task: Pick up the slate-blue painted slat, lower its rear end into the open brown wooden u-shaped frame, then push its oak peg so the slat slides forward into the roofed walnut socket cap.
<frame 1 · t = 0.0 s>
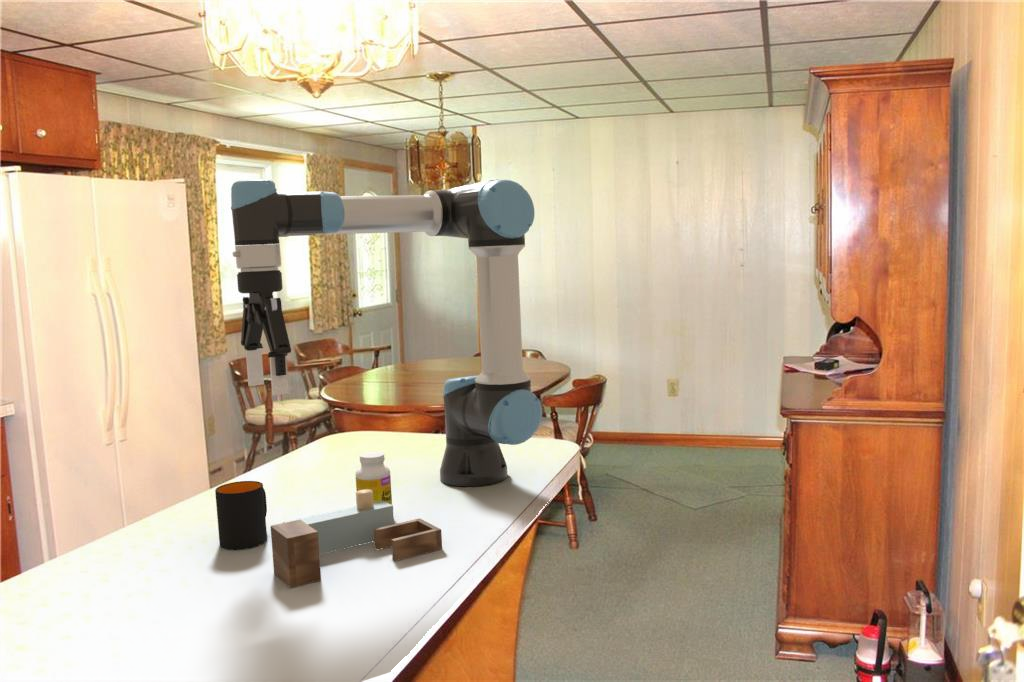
hand: (268, 389, 155), 28 cm above the kitchen island, fingers open, 13 cm apart
slat: (341, 546, 155), on the kitchen island
mug: (249, 540, 161), on the kitchen island
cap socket: (297, 576, 141), on the kitchen island
supplement bottle: (375, 520, 169), on the kitchen island
brown wooden u-shaped frame: (408, 548, 152), on the kitchen island
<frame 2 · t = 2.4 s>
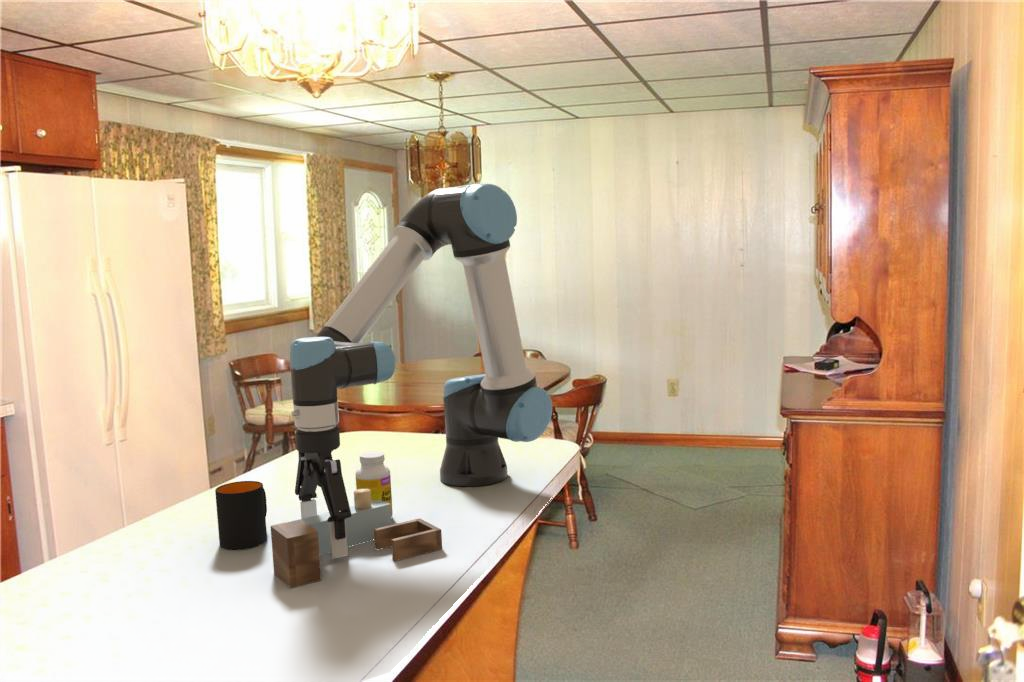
hand: (324, 545, 154), 1 cm above the kitchen island, fingers open, 13 cm apart
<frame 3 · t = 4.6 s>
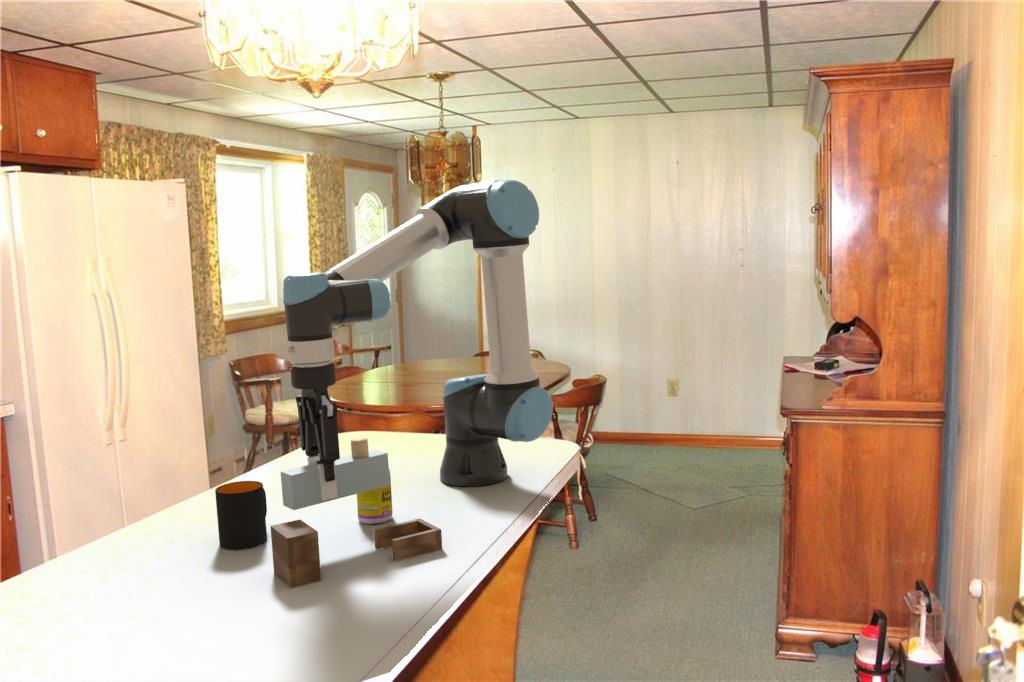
hand: (323, 494, 153), 10 cm above the kitchen island, fingers closed on slat, 4 cm apart
slat: (338, 495, 155), point 9 cm above the kitchen island, touching gripper
everything else where it was.
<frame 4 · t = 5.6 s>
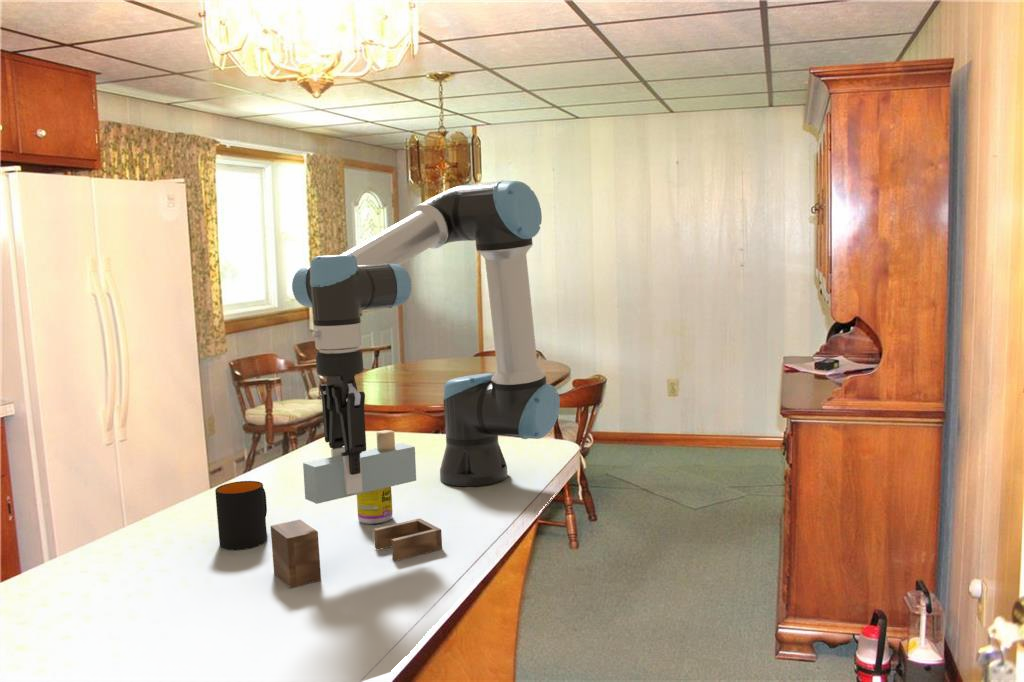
hand: (347, 489, 145), 13 cm above the kitchen island, fingers closed on slat, 4 cm apart
slat: (362, 489, 147), point 12 cm above the kitchen island, touching gripper
everything else where it was.
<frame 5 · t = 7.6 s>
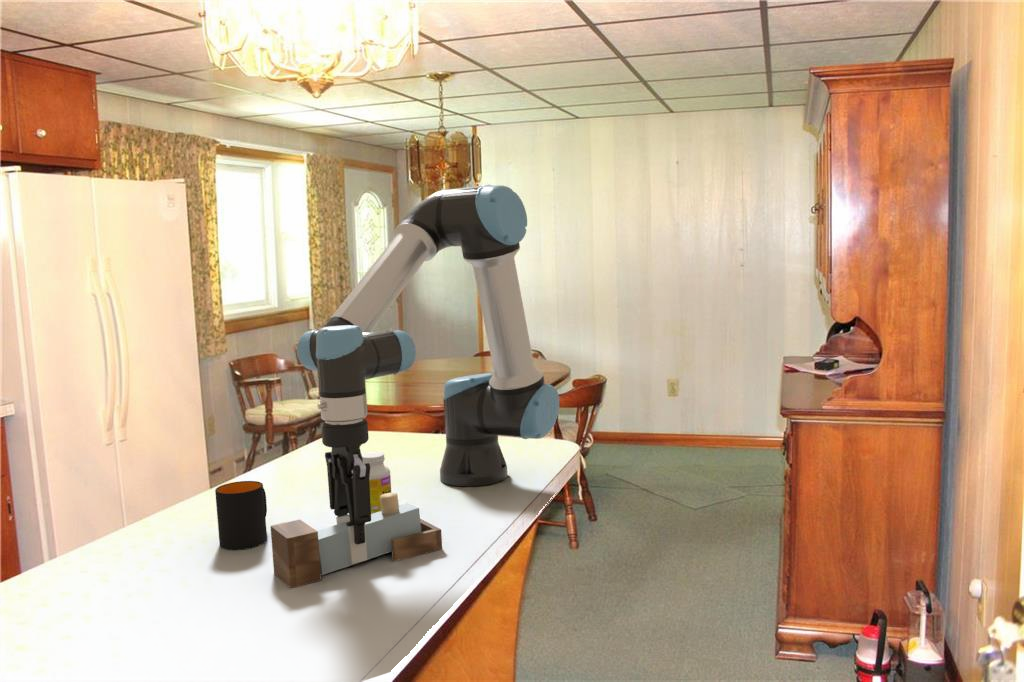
hand: (352, 556, 146), 1 cm above the kitchen island, fingers closed on slat, 4 cm apart
slat: (368, 554, 148), point 1 cm above the kitchen island, touching gripper
everything else where it was.
when the fingers open (0 cm above the kitchen island, at t = 7.9 s): slat stays where it is, on the kitchen island.
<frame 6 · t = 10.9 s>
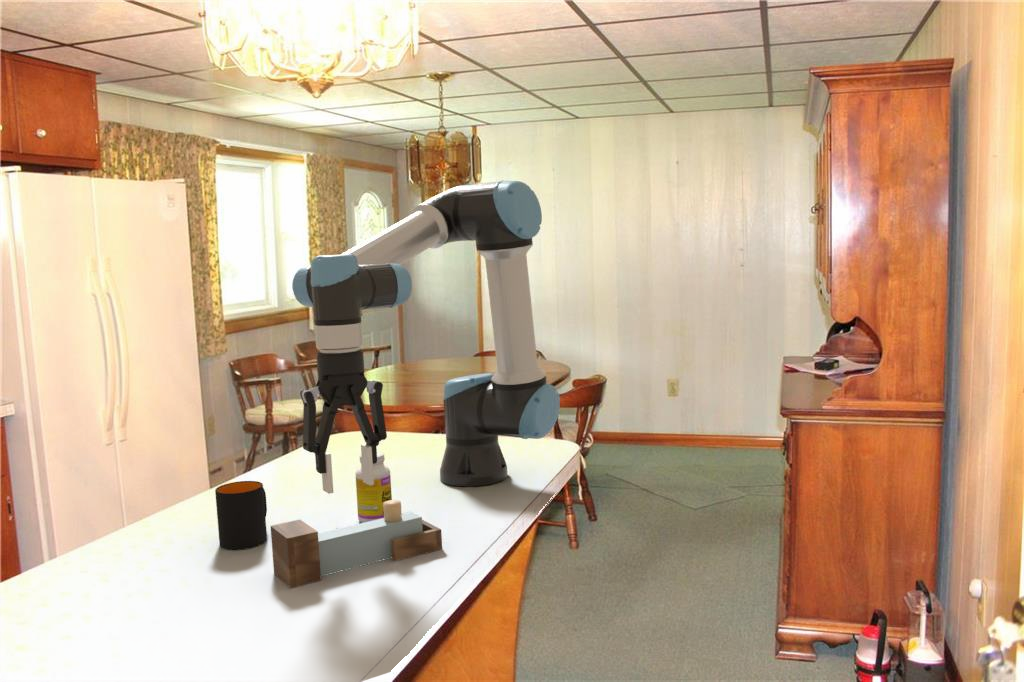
hand: (348, 487, 145), 13 cm above the kitchen island, fingers open, 6 cm apart
slat: (368, 560, 148), on the kitchen island
everything else where it was.
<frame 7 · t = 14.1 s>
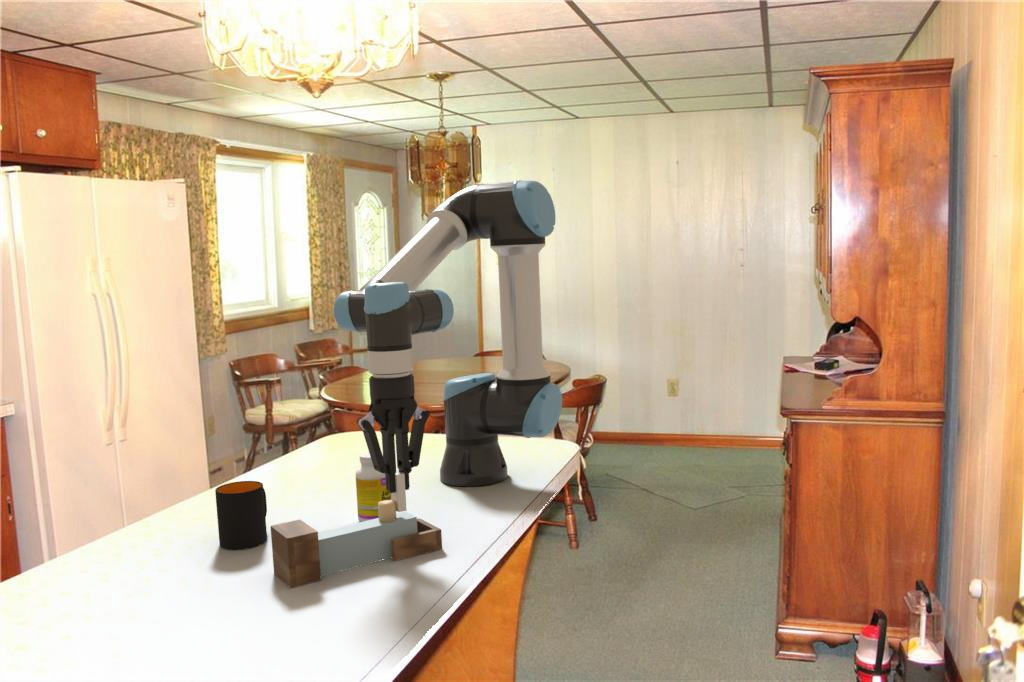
hand: (399, 509, 150), 7 cm above the kitchen island, fingers closed
slat: (362, 560, 147), on the kitchen island, touching gripper
everything else where it was.
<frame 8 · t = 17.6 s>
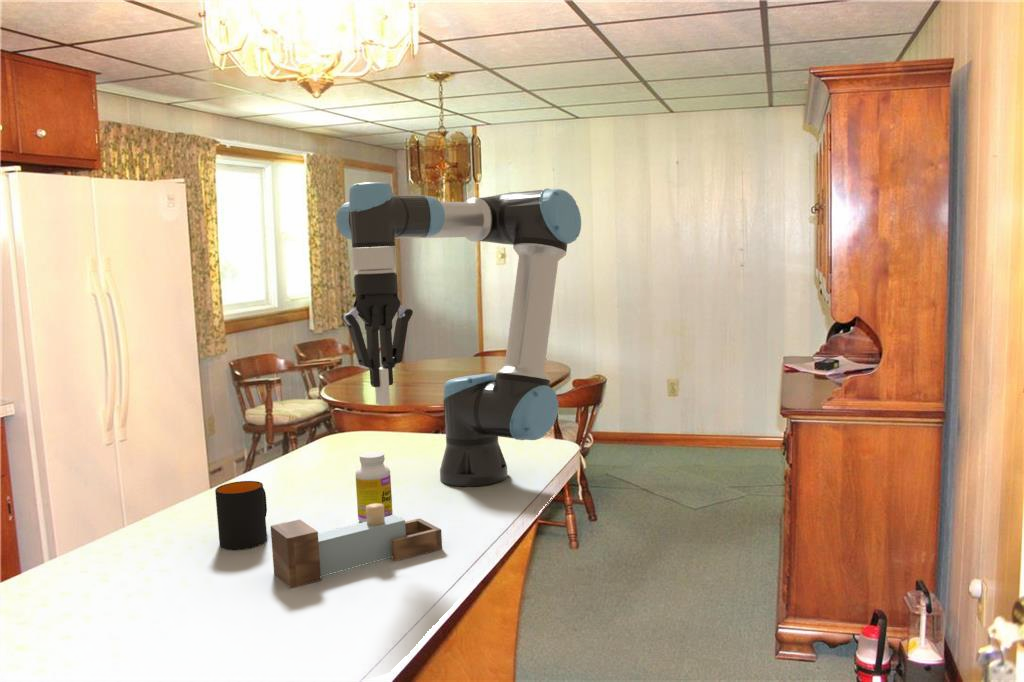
hand: (383, 404, 156), 24 cm above the kitchen island, fingers closed
slat: (351, 564, 146), on the kitchen island
everything else where it was.
at the end: slat 0.4 cm from the target spot, on the kitchen island; slat tilted 0°; the gripper is holding nothing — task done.
